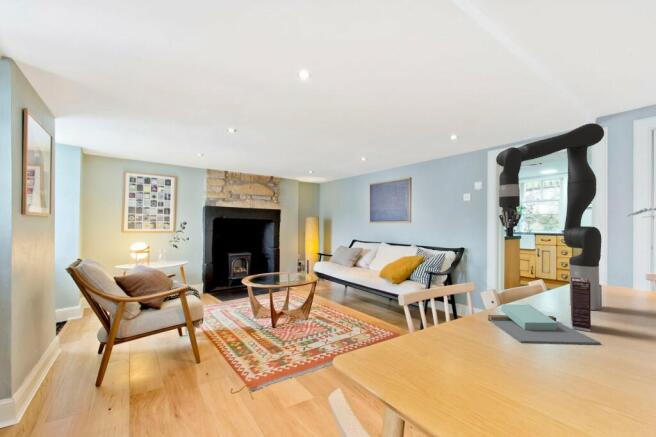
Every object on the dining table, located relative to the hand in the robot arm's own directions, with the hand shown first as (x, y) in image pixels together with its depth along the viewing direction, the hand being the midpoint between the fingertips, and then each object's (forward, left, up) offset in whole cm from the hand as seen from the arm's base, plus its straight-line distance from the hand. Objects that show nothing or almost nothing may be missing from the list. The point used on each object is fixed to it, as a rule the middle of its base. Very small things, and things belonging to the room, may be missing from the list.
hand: (509, 236), depth 123 cm
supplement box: (-5, +26, -29) cm, 39 cm away
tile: (+10, +15, -25) cm, 31 cm away
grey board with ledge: (+12, +28, -29) cm, 42 cm away
